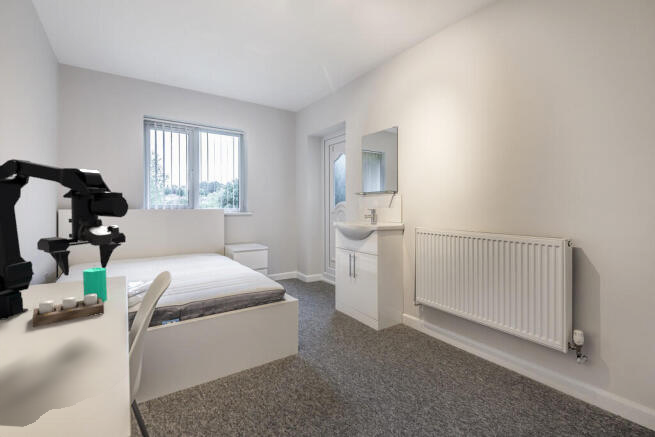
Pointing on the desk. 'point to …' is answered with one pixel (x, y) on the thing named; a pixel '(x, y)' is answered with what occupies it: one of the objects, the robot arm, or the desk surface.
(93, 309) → the button board
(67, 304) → the button middle
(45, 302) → the button near
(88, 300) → the button far
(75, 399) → the desk surface
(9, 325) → the desk surface
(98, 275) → the candle
